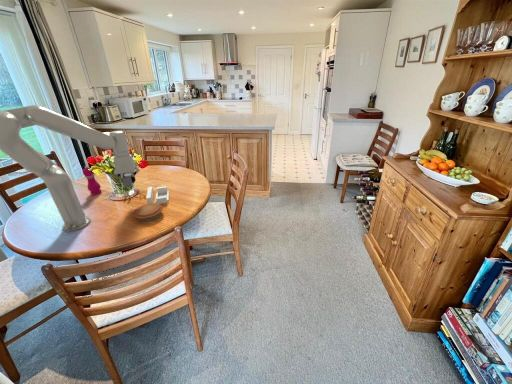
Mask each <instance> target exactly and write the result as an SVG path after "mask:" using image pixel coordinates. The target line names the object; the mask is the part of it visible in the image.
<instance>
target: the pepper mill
mask: <svg viewBox="0 0 512 384" xmlns="http://www.w3.org/2000/svg"><path fill="white" fill-rule="evenodd" d="M90 168H91V167H89V166H88V165H85V166H84V168H83V170H82V174H83V175H84V176H85V178H86V180H87V191H89V193H90V195H92V196H96V195H98V196H99V194H101V193H102V192H103V191H102V189H101V185H100V184H101V183H99V182H98V181H97V180H96V178H95V174H94V173H93V172H91V171H89V170H88V169H90Z"/></svg>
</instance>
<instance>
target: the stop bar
mask: <svg viewBox="0 0 512 384" xmlns="http://www.w3.org/2000/svg"><path fill="white" fill-rule="evenodd" d="M122 183H123V187H124V188H126V189H127V188H133V185H134V183H133V181H132V175H131V173H124V177H123V181H122Z"/></svg>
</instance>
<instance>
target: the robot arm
mask: <svg viewBox="0 0 512 384" xmlns="http://www.w3.org/2000/svg"><path fill="white" fill-rule="evenodd" d="M33 126H34V127H35V126H38V127H41V128H44V129H45V130H50V131H52V132H55V133H58V134H60V135H62V136H63V135H64V136H66V137H68V138H71V139H74V140H77V141H81V142H83V143H87V144H90V145H92V146H95V147H97V148H101V149H102V150H113V151H112V152H111V153H110V154H111V155H113V164H114V168H115V169H114V171H113V175H116V176H118V177H120V178H121V181H122V182H123V177H124V175H125V173H131V175H132V181H133V184H135V182H136V175H137V174H138V173H139V172H140V168H139V167H137V165H136V164H135V160H134V157H133V155H132V154H131V153H130V149H129V145H128V141H127V137H126V134H125V132H124V131H122V130H114V131H110V132H109V131H106V132H102V131H99V130H97V129H95V128H93V127H92V128H91V127H90V126H88V125H85V124H83V123H82V122H79V121H77V120H75V119H72V118H71V117H70V118H69V117H68V116H65V115H63V114H60V113H57V112H56V111H53V110H51V109H48V108H46V107H43V106H41V105H37V104H36V105H35V104H32V105H28V106H22V107H18V108H17V107H16V108H11V109H6V110H1V111H0V151H1V152H3V153H4V154H5V155H6V156H8V157H9V159H12V160H13V161H15V162H16V163H17V164H18V165H20V166H21V167H23V169H24V170H25V171H28V172H30V173H33V174H34V175H35V176H37V177H38V178H40V179H41V180H42V181H43V182H44V184H45V186H46V187H47V189H48V192H49V194H50V197H51V198H52V201H53V202H54V205H55V206H56V208H57V211H58V213H59V214H60V217H61V219H62V221H63V225H62V229H63V231H64V232H65V233H68V232H73V231H77V230H80V229H83V228H85V227H86V226H88V225H89V224H90V223H91V221H92V219H91V217H90V216H86V214H85V211H84V209H83V207H82V205H81V202H80V200H79V198H78V195H77V193H76V191H75V188H74V185H73V181H72V179H71V177H70V176H69V174H68V173H67V172H66V171H65V170H64V169H63V168H61V167H60V166H59V165H57V163H55V162H54V161H53V160H51V159H50V158H49V157H47V156H46V155H45V154H44V153H43V152H41V151H39V150H37V149H34V148H33V147H32V146H31V145H30V144H29V143H27V142H26V141H25V140H24V139H23V138H22V137H21V136H20V135H21V134H20V132H21V129H25V128H29V127H33Z"/></svg>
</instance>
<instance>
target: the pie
mask: <svg viewBox="0 0 512 384" xmlns="http://www.w3.org/2000/svg"><path fill="white" fill-rule="evenodd" d="M163 208H164V207H163V204H157V203H156V202H155V203H154V202H153V203H150V204H148V203H145V204H143V205H141V206H139V207H137V208H136V209H134V211H133V213H132V214H133V217H135V218H137V219H139V220H140V221H143V222H150V221H153V220H156V219H158V217H160V215H161V213H162V211H163Z"/></svg>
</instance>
